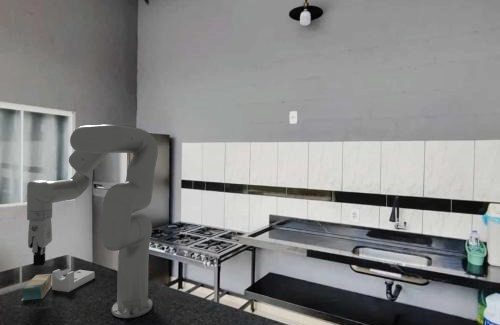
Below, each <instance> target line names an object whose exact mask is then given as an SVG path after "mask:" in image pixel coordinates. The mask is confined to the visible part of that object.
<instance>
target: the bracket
mask: <svg viewBox="0 0 500 325" xmlns="http://www.w3.org/2000/svg"><path fill="white" fill-rule="evenodd" d="M95 276H96V275H95V271H90V270H83V269H78V270H76V271H74V270H72V271H69V272H67V273H66V275H65V276H64V275H63V274H62V272H61V269H59V268H57V269H55V270H53V271H52V273H51V277H52V287H51V289H52V291H57V292H64V293H69V292H71V291H74V290H75V289H76V288H79V287H80V286H83V285H85V284H87V283H89V282H90V281H92V280H93V279H95Z"/></svg>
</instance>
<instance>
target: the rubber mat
mask: <svg viewBox="0 0 500 325" xmlns="http://www.w3.org/2000/svg"><path fill="white" fill-rule="evenodd" d="M51 289H52V276H51V285H50V286H49V288H48V289H47V290H46V292H45V293H44V294H43V296H42V297H41V298H40V299H41V300H42V299H44V298H45V296H46V295H47V293H48V292H49V291H50V290H51ZM40 299H39V300H40ZM31 300H33V299H31ZM20 301H24V300H23V298H21V300H20Z"/></svg>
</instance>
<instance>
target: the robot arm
mask: <svg viewBox="0 0 500 325" xmlns="http://www.w3.org/2000/svg"><path fill="white" fill-rule="evenodd" d="M69 142H70V146H71V148H72V149H73V150H74V151H73V152H71V153H72V154H70V155H69V157H68V164H69V165H70V167H71V168H73V169H74V171H76V172H75V173H74V174H73V176H71V178H70V179H63V180H62V179H60V180H52V181H51V180H47V179H36V180H30V181H28V182H27V184H26V220H27V221H29V223H28V232H27V233H28V234H27V246H28V248H29V249H31V253H32V254H33V260H32V261H33V262H32V263H33V264H32V265H33V267H36V266H38V267H39V266H44V265H45V264H46V247H47V245H49V244H50V243H51V242H52V241H53V230H52V218H53V204H54V203H60V202H65V201H71V200H72V201H73V200H75V199H77V198H79V197H80V196H81V195H83V194H84V192H85V191H86V190H87V189H88V188H89V187H90V185H91V183H92V181H93V177H94V175H93V172H94V170H95V168H97V166H98V165H99V164H100V163H101V162H102V161H103V159H105V158H106V156H108V154H109V153H111V154H113V153H115V154H118V153H119V154H132V157H131V159H130V161H129V162H128V165H127V170H126V178H125V182H120V183H116V184H114V185H112V186H111V187H110V188H109V189H108V190H107V191H106V193H105V195H104V198H103V201H102V211H101V220H100V227H99V237H100V238H99V239H100V243H101V245H102V246H103V248H105V249H106V250H107V251H112V252H116V251H118V254H117V282H116V284H117V285H116V288H117V290H116V292H117V293H116V302H115V303H114V304H113V305H112V307H111V313H112V315H113V316H114V317H117V318H119V319H120V318H121V319H133V318H137V317H140V316H143V315H145V314H147V313H148V312H150V311H151V310H152V308H153V300H152V299H150V298H149V260H150V259H149V258H150V257H149V256H150V255H149V254H150V243H151V237H152V235H153V234H152V233H153V225H152V220H151V219H150V217H149V216H147V215H146V214H145V213H141V212H138V211H141V210H145V209H146V208H147V207H149V206H150V204H151V202H152V196H153V190H154V182H155V181H154V180H155V172H156V166H157V160H158V155H159V149H158V148H159V147H158V144H157V140H156V139H155V137H154V136H153V135H152V134H151V133H150V132H148V131H146V130H145V129H142V128H138V127H132V126H126V125H125V126H124V125H120V124H97V125H95V124H94V125H82V126H79V127H77V128H76V129H74V130H73V131H72V133H71V135H70V138H69Z"/></svg>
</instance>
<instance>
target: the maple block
mask: <svg viewBox="0 0 500 325" xmlns="http://www.w3.org/2000/svg"><path fill="white" fill-rule="evenodd" d="M51 277H52V273H45V274H36V275H35V276H34V277H32V279H30V281H29V282H28V283H27V284H26V285H25V286H24V287H23V290H22V293H23V294H22V299H23V300H22V301H29V300H31V299H32V300H40V298H41V297H42V296H43V294H44V293H45V292H46V290H47V289H48V288H49V286H50V285H51ZM41 299H42V298H41Z"/></svg>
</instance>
